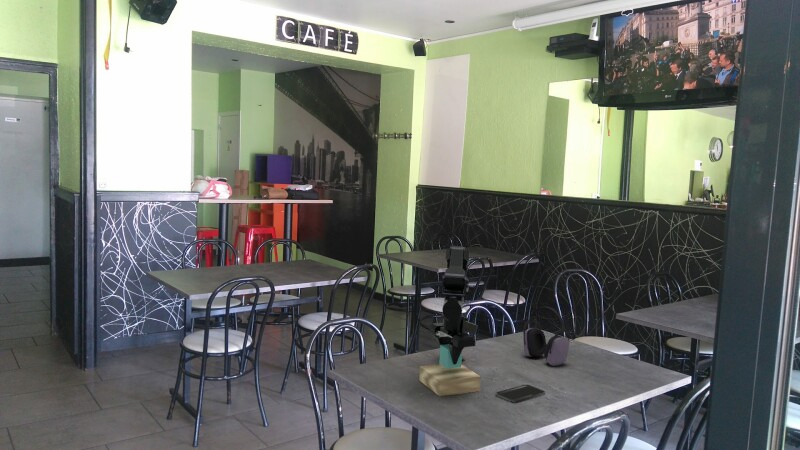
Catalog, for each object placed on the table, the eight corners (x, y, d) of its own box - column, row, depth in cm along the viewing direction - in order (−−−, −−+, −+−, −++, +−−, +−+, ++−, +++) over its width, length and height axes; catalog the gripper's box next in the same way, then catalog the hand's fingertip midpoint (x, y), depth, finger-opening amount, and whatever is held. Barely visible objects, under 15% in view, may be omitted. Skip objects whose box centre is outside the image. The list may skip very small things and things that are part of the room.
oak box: (419, 381, 185) (419, 366, 184) (457, 377, 190) (458, 362, 190) (439, 397, 172) (440, 380, 172) (479, 392, 178) (480, 376, 177)
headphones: (536, 352, 221) (539, 301, 220) (571, 365, 207) (575, 310, 206) (518, 356, 216) (521, 303, 214) (553, 369, 202) (557, 313, 200)
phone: (494, 392, 175) (527, 383, 184) (493, 396, 175) (526, 387, 184) (514, 401, 168) (547, 391, 177) (513, 405, 168) (546, 395, 178)
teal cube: (439, 363, 182) (440, 345, 181) (452, 362, 184) (453, 343, 184) (447, 368, 177) (448, 349, 177) (461, 367, 180) (462, 348, 179)
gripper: (491, 317, 175) (488, 368, 176) (459, 304, 191) (456, 350, 193) (460, 320, 170) (457, 372, 171) (429, 306, 186) (427, 353, 188)
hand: (450, 361), depth 181 cm, fingers closed on teal cube, 5 cm apart
